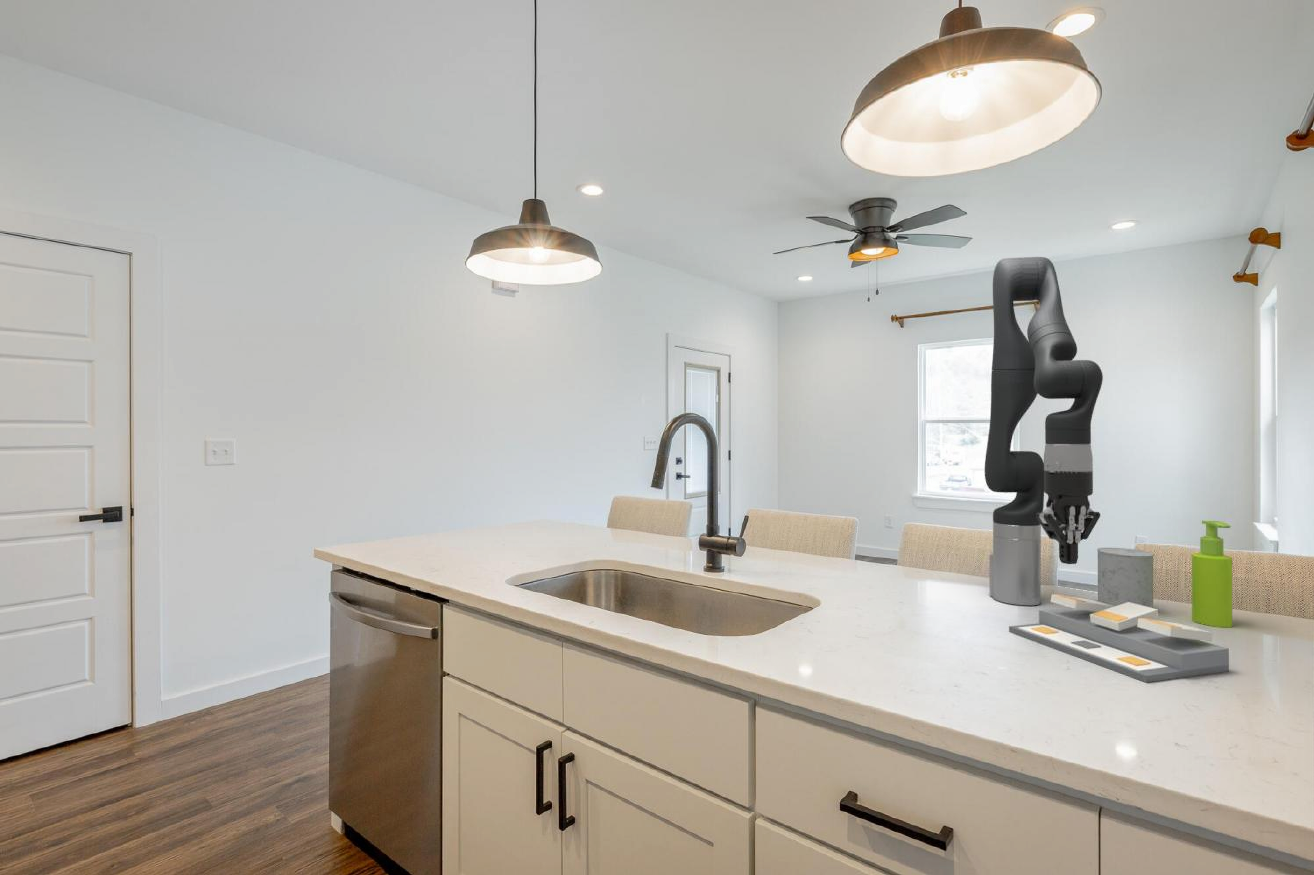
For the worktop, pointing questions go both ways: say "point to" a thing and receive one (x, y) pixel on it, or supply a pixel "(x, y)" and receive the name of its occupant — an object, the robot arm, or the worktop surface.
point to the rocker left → (1079, 603)
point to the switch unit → (1125, 646)
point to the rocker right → (1174, 629)
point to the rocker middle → (1123, 616)
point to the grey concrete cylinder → (1125, 576)
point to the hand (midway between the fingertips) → (1068, 563)
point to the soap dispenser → (1212, 580)
